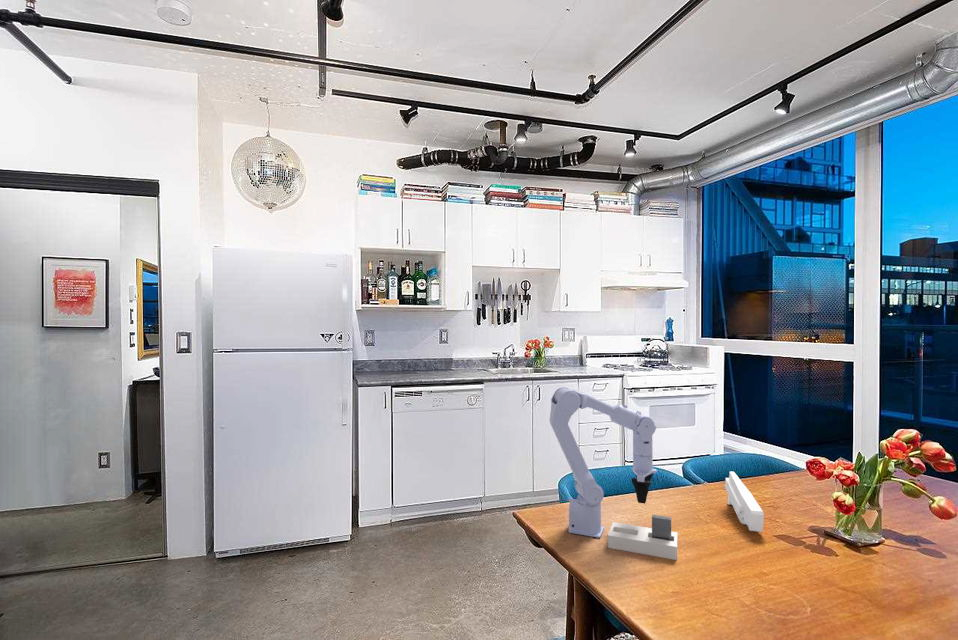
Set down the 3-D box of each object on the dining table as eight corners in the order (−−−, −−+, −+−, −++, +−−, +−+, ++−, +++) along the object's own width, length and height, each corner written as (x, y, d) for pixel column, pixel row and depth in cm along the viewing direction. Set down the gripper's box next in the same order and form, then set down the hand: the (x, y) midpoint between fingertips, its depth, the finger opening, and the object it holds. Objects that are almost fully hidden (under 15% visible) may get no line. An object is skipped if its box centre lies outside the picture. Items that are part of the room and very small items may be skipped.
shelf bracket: (738, 505, 169) (740, 471, 166) (765, 551, 145) (768, 513, 142) (721, 503, 170) (723, 470, 167) (745, 549, 146) (748, 512, 143)
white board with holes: (607, 547, 135) (607, 535, 135) (613, 533, 145) (612, 522, 145) (676, 560, 128) (676, 546, 128) (677, 544, 137) (677, 532, 137)
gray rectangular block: (651, 549, 134) (651, 517, 135) (652, 546, 136) (652, 514, 136) (671, 552, 132) (671, 519, 133) (671, 549, 134) (671, 517, 134)
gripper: (654, 461, 140) (655, 508, 140) (657, 450, 153) (657, 493, 153) (629, 459, 143) (629, 505, 142) (634, 447, 156) (634, 489, 156)
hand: (642, 498), depth 148 cm, fingers open, 7 cm apart
